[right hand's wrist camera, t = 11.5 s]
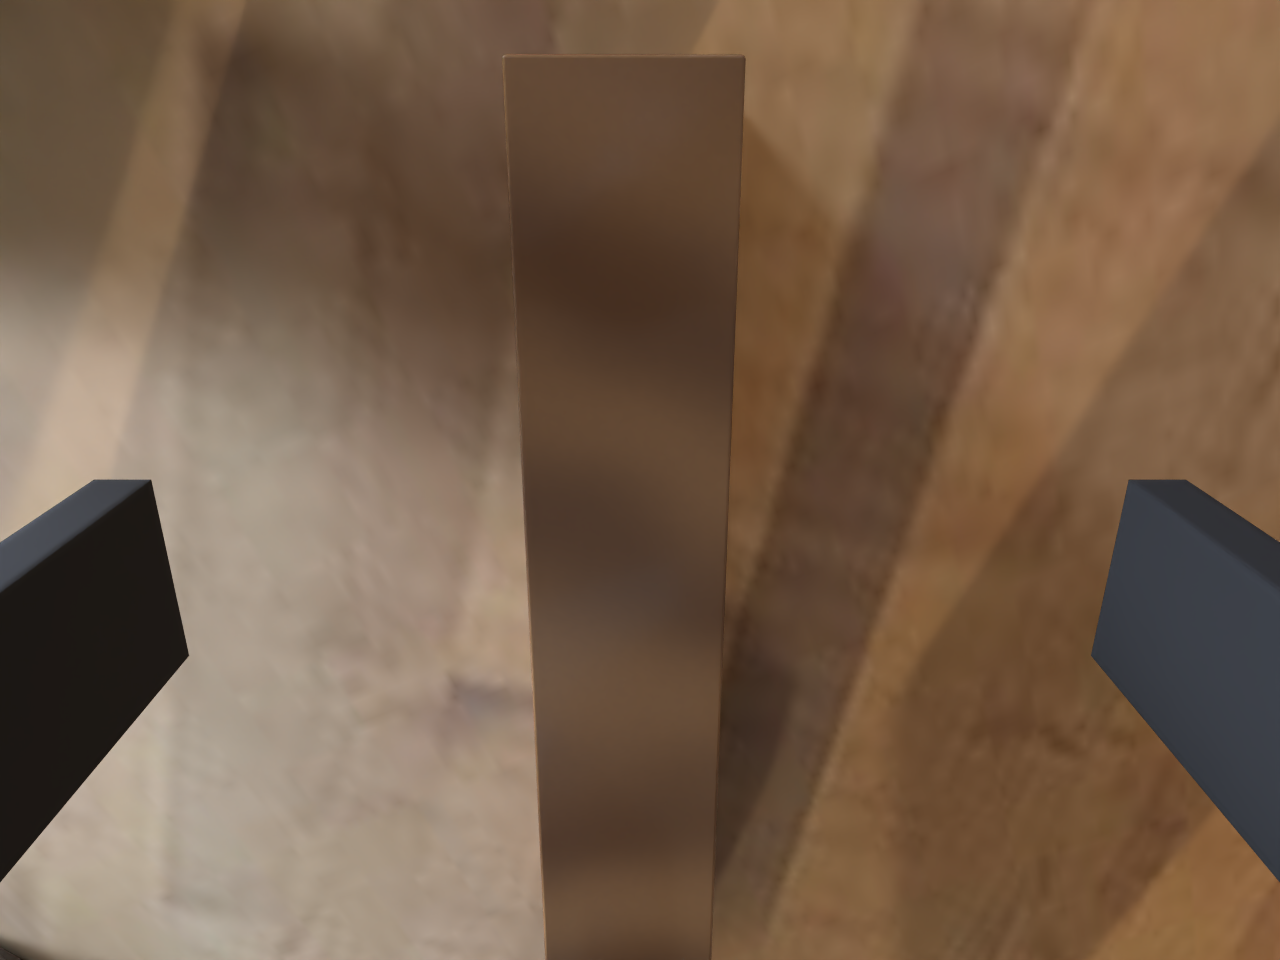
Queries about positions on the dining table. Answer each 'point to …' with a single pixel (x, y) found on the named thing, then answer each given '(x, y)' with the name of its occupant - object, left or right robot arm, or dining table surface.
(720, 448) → the post
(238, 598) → the dining table surface
